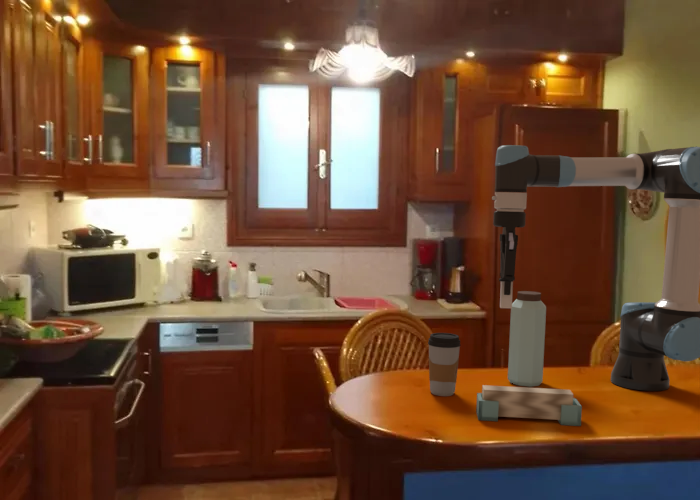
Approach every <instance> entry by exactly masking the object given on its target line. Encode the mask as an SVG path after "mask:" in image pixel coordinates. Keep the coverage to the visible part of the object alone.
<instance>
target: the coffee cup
mask: <svg viewBox="0 0 700 500" xmlns="http://www.w3.org/2000/svg"><path fill="white" fill-rule="evenodd" d="M429 336H430V337H429V338H428V343H427V344H428V373H429V374H428V375H429V376H428V377H429V391H430V392H431V394H432V395H435V396H440V397H450V396H453V395H454V394H455V392H456V386H457V385H456V384H457V379H458V369H459V362H460V361H459V359H460V358H459V356H460V347H461V340H460V337H459V335H458V334H454V333H451V332H450V333H448V332H433V333H431V334H430V335H429Z"/></svg>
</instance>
